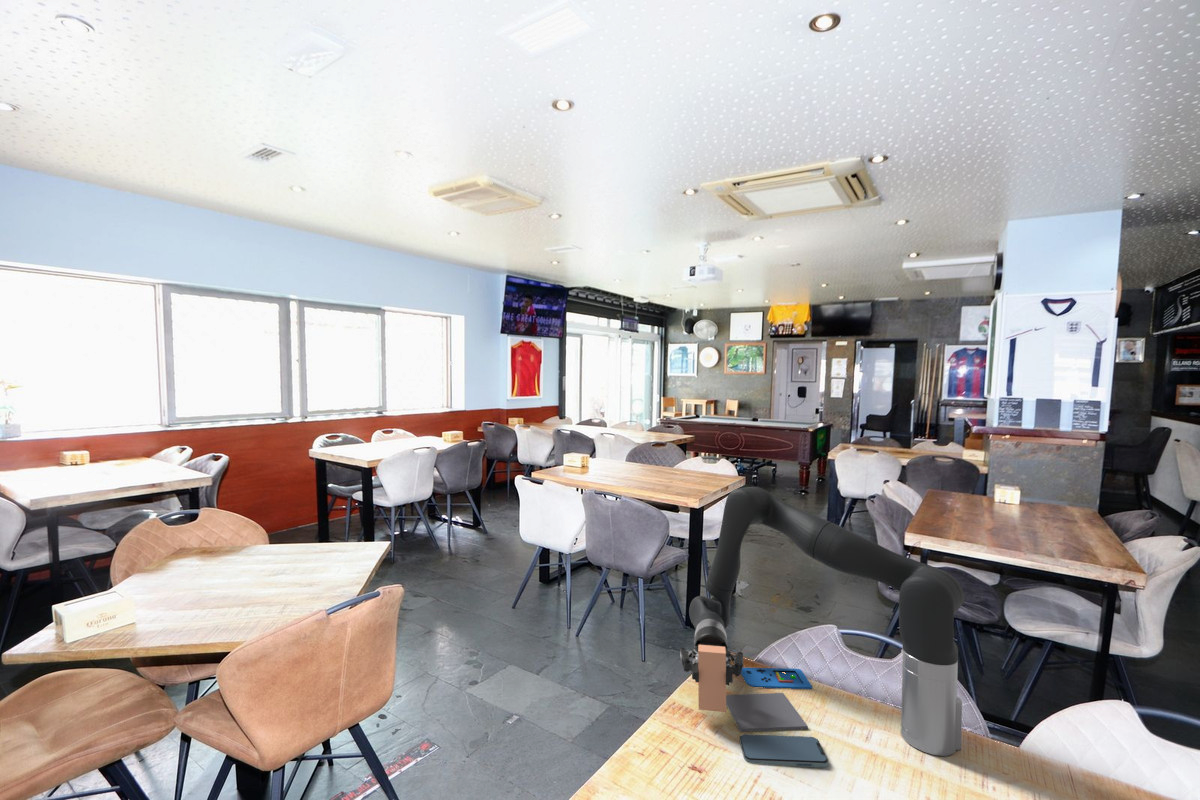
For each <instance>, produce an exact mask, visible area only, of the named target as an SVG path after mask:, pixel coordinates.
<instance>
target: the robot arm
mask: <svg viewBox="0 0 1200 800" xmlns="http://www.w3.org/2000/svg"><path fill="white" fill-rule="evenodd" d="M724 503H725V504H724V507H723V515H722V521H721V527H720V532H719V538H718V543H717V547H716V551H715V555H714V558H713V561H712V564H711V567H710V569H709V572H708V575H707V578H706V580H705V586H704V587H705V590H706V591H707V592H708V593H709V595H711V596H713V597H714V598H715V599H717V600H714V599H712V598H709V597H707V596H704V595H697V596H696V597H694V598H693V599H692V600H691V602H690V604H689V606H688V607H689V609H688V614H689V619H690V622H691V624H692V625H693V627H694V629H695V631H694V642H693V643H694V645H693V648H692V649H691V650H688V649H687V648H686V647H684V646H683V647H682V646H681V647H680V648H679V649H680V651H679V653H680V654H679V655H680V656H679V657H680V658H679V659H680V662H681V667H682V668H683V671H684V672H686V673H688V672H691V679H692V680H695V683H698V682H699V670H698V645H710V646H722V647H725V650H726V686H730V684H732V683H733V682H734V680H733V679H734V678H733V677H734V676H735V677H742V674H741V672H742V668H743V667H744V653H743V652H742V651H738V652H737V653H735V654H733V653H731V651H730V650H729V647H728V645H729V644H728V636H727V632H726V629H727V628H728V627H729V624H730V620H731V600H732V595H733V592H734V588H735V587H736V583H737V580H738V578H739V574H740V570H741V549H742V548H741V547H742V543H743V540H744V537H745V535H746V534H747V531H748V529H749V527H750V526H751V525H757V524H759V525H763V526H766V527H768V528H771V529H773V530H775V531H777V532H779V533H782V534H783V535H785V536H786V537H787V538H788V539H790V540H791V541H792V542H793V543H794V545H796V547H798V549H799V550H801V551H802V552H803V553H804V554H806V555H807V556H808V557H809V558H812V559H813V560H815V561H818V562H819V563H822V565H824V566H827V567H829V568H830V569H833V570H835V571H838V572H840V573H845V574H847V575H851V576H855V577H858V578H859V577H860V578H864V579H867V580H872V581H875V582H879V583H882V584H883V585H886V586H887V587H890V588H892V589H894V590H896V591H897V592H899V595H898V596H899V597H898V626H899V634H900V637H901V640H902V641H901V642H902V655H901V656H902V660H901V662H902V663H901V664H902V666H901V717H900V718H901V719H900V721H901V722H900V733H901V737H902V738H903V740H905V742H906V743H908V744H909V745H910V746H912V747H913V748H915V749H917V750H919V751H922V752H924V753H926V754H930V755H933V756H938V757H939V756H941V757H943V756H944V757H946V756H947V757H948V756H950V755H954V753H955V752H956V751H957V750H958V751H959V750H962V732H963V731H962V727H963V726H962V725H963V724H962V720H963V717H962V716H963V701H962V699H961V698H960V697H959V696H958V673H959V671H958V667H959V666H958V662H959V648H958V645H957V643H956V642H955V639H954V638H955V635H954V629H955V628H954V623H955V622H954V617H955V615H954V614H956V613H957V611H959V610H960V608H961V607H962V606H963V603H964V601H965V595H964V594H965V593H964V589H963V587H962V586H961V584H960V583H959V582H958V580H957V579H956V578H955V577H953V575H951V574H950V573H948V572H947V571H945V570H942V569H940V568H938V567H936V566H933V565H929V564H927V563H924V562H921V561H918V560H915V559H912V558H911V557H907V556H905V555H902V554H899V553H897V552H894V551H892V550H890V549H888V548H885V546H881V545H880V544H878V543H876V542H874V541H871V540H870V539H867V538H865V537H863V536H861V535H860V534H859V535H858V534H857V533H855V532H853V531H850V530H849V529H847V528H845V527H843V526H841V525H838V524H836V523H834V522H831V521H829V520H827V519H825V518H823V517H819V516H817V515H816V514H813V513H810V512H807V511H805V510H802V509H800V508H798V507H795V506H793V505H791V504H790V503H787V502H786V501H784V500H782V499H780V498H779V497H778V496H776V495H774V494H772V493H771V492H769V491H767V490H766V489H764V488H761V487H758V486H746V487H739V488H736V489H733V490H732V491H730V493H729V494H728V495H727V497H726V500H725V502H724ZM691 658H692V661H691ZM731 661H732V663H734V664H732V663H731Z"/></svg>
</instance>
